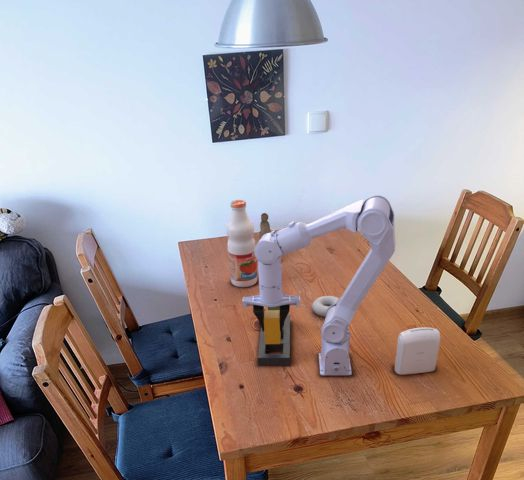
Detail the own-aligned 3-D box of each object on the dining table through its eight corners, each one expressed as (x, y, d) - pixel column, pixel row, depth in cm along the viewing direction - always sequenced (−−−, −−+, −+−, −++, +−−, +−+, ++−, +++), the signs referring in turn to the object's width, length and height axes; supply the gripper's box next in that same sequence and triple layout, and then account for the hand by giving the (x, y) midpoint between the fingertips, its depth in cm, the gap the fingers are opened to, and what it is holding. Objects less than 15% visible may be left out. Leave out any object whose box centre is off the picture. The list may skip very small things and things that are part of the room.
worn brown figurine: (260, 259, 189) (254, 212, 181) (273, 257, 189) (269, 210, 182) (265, 265, 178) (260, 216, 171) (280, 263, 178) (275, 213, 171)
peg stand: (289, 365, 127) (289, 357, 126) (258, 365, 128) (257, 357, 126) (290, 322, 145) (290, 315, 143) (262, 322, 145) (262, 315, 144)
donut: (310, 318, 146) (343, 320, 144) (310, 308, 144) (344, 310, 142) (314, 302, 154) (345, 303, 152) (314, 293, 152) (346, 294, 150)
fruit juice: (241, 273, 174) (235, 195, 157) (262, 279, 169) (258, 199, 153) (225, 284, 167) (217, 204, 151) (247, 290, 163) (241, 208, 147)
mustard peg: (280, 344, 126) (279, 318, 122) (265, 344, 126) (263, 318, 122) (280, 335, 129) (279, 310, 125) (265, 335, 130) (264, 310, 125)
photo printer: (397, 376, 121) (403, 336, 114) (391, 366, 125) (397, 326, 118) (436, 372, 122) (445, 332, 115) (430, 362, 125) (438, 322, 118)
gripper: (300, 274, 121) (300, 320, 129) (242, 275, 122) (246, 321, 130) (300, 288, 115) (300, 335, 123) (240, 289, 116) (244, 335, 124)
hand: (272, 329), depth 126 cm, fingers closed on mustard peg, 4 cm apart
